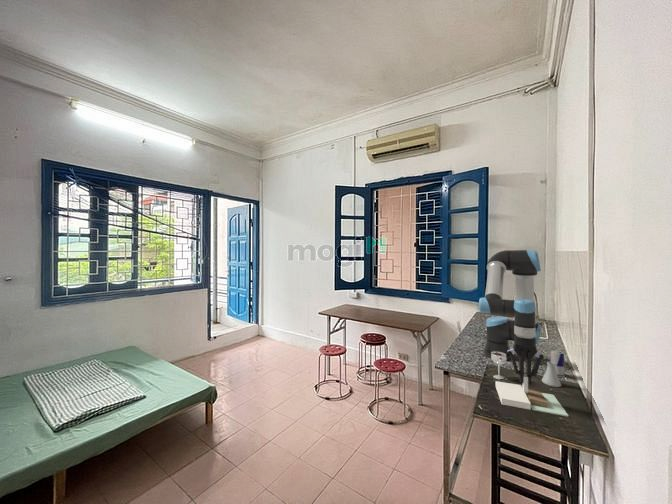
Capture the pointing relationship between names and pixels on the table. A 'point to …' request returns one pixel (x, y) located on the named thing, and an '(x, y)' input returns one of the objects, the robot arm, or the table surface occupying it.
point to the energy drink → (558, 362)
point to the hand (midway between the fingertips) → (525, 390)
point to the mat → (550, 406)
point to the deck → (512, 395)
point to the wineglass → (498, 361)
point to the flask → (551, 376)
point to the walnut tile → (536, 398)
